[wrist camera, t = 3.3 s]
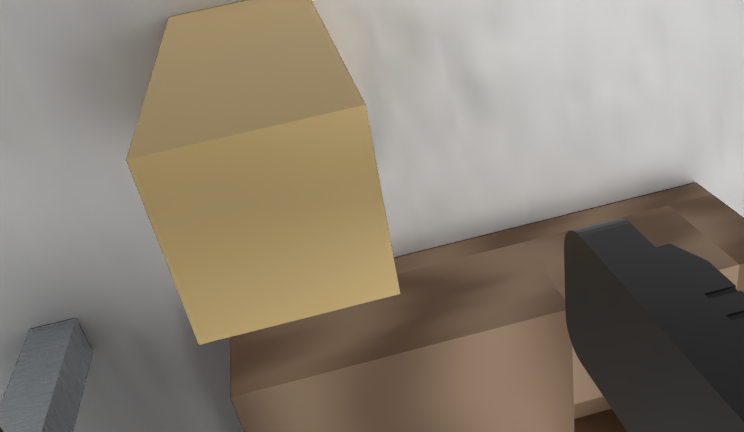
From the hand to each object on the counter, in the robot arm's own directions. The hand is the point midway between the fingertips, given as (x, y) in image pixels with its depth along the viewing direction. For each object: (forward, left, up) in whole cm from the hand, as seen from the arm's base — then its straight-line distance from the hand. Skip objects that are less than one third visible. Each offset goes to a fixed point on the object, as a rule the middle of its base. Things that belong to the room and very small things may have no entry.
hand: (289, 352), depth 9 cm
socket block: (-6, +15, -13) cm, 21 cm away
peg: (0, 0, -13) cm, 13 cm away
